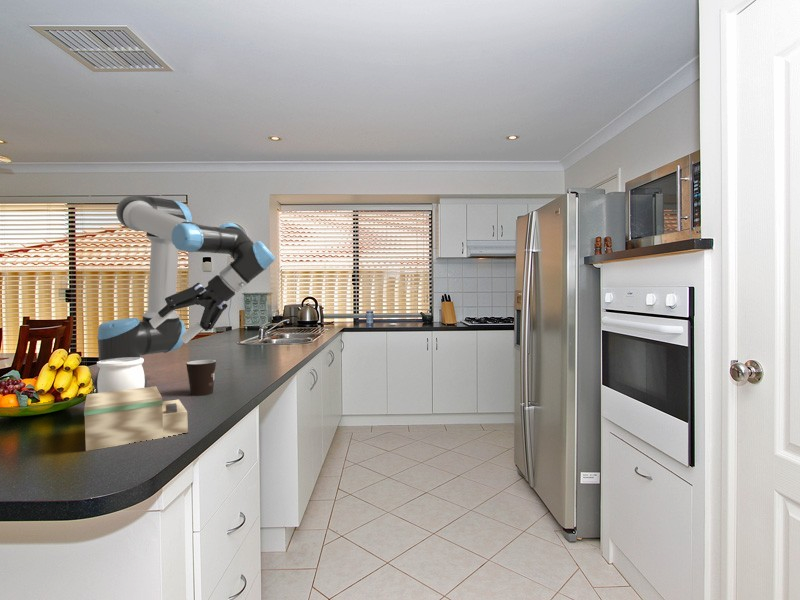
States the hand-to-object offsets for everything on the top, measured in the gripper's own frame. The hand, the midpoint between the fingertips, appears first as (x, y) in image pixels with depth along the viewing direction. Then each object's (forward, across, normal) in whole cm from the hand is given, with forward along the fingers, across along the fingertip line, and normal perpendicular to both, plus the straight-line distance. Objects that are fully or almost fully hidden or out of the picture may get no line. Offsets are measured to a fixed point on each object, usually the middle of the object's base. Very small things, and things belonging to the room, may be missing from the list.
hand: (167, 333), depth 127 cm
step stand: (+13, -13, -27) cm, 33 cm away
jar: (+20, -3, -14) cm, 25 cm away
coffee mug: (+8, +23, -9) cm, 26 cm away
